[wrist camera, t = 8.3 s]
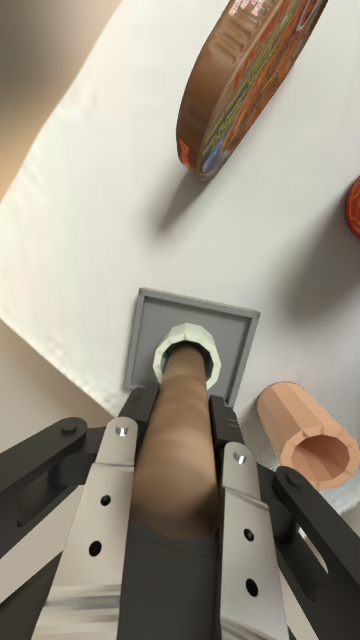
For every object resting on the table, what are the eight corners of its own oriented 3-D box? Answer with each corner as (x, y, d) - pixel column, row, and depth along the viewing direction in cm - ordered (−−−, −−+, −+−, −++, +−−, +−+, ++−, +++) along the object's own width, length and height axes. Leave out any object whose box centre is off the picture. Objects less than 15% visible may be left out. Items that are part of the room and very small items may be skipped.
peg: (206, 346, 19) (230, 481, 6) (199, 377, 20) (207, 555, 7) (173, 338, 19) (130, 457, 6) (167, 369, 20) (117, 533, 7)
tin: (200, 198, 20) (204, 140, 12) (174, 176, 20) (159, 103, 11) (315, 35, 17) (431, -199, 9) (286, 8, 17) (376, -259, 8)
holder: (221, 330, 21) (227, 341, 17) (208, 380, 22) (211, 402, 18) (166, 318, 21) (160, 327, 17) (157, 369, 22) (148, 388, 19)
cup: (318, 388, 23) (372, 435, 16) (301, 434, 24) (344, 496, 17) (264, 376, 23) (294, 418, 16) (250, 422, 24) (272, 479, 17)
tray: (255, 310, 21) (260, 313, 20) (229, 402, 24) (232, 412, 22) (143, 287, 22) (139, 288, 20) (129, 379, 24) (124, 387, 22)
